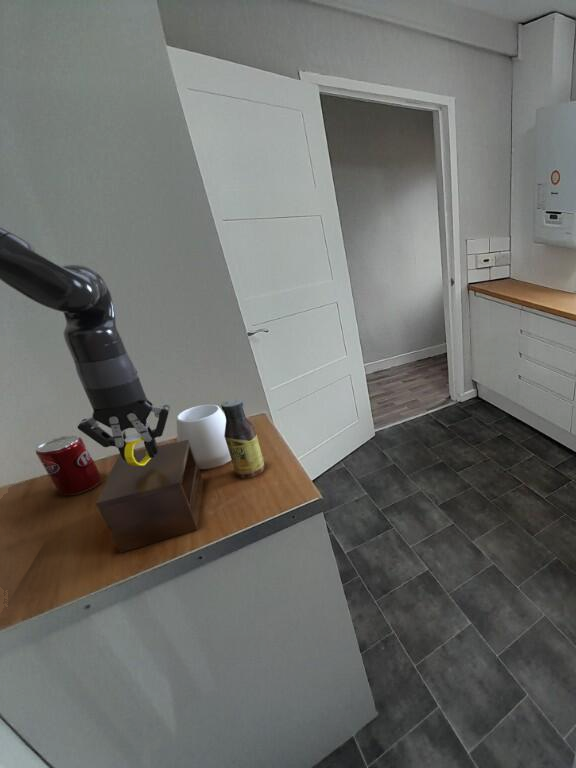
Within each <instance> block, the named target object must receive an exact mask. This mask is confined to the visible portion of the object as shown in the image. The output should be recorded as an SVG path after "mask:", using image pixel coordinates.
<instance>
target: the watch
mask: <svg viewBox="0 0 576 768" xmlns="http://www.w3.org/2000/svg"><path fill="white" fill-rule="evenodd" d="M126 437H127V438H126V439H125V443H126V446H125V450H124V453H125V459H126V461H127V462H128V463H129V464H130V465H131V466H144V465H145V464H146V463H147V462H148V461H149V460H150V459H151V458H150V457H149V455H148V452H147V451H146V455H145V457H144V458H143V459H142V460H141V461H140V462H139V463H138V462H137V461H136V460H135V458H134V456H133V451H134V448H135V445H136V444H138V443H140V442H142V441H144V439H143V438H142V436H141V435H140V433H135V434H131V435H129V436H126Z"/></svg>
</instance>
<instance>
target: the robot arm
mask: <svg viewBox="0 0 576 768" xmlns="http://www.w3.org/2000/svg"><path fill="white" fill-rule="evenodd" d="M0 281H1V282H2V283H4V284H5V285H7V286H8V287H10V288H12V289H14V290H15V291H16V292H18V293H20V294H21V295H23V296H25V297H26V298H28V299H30V300H31V301H33V302H35V303H37V304H39V305H41V306H44V307H45V308H48V309H51V310H54V311H57V312H61V313H63V316H64V319H65V323H66V324H65V326H64V327H65V328H64V329H63V338H64V342H65V344H66V347H67V349H68V351H69V353H70V355H71V357H72V360H73V363H74V366H75V371H76V374H77V376H78V379H79V381H80V384H81V385H82V388H83V390H84V392H85V395H86V397H87V399H88V401H89V403H90V406H91V408H92V411H93V412H92V415H91V416H90V417H88V418H83V419H81V421H80V422H79V424H78V425H77V429H78V430H79V431H80V432H82V433H83V434H84V435H86V436H87V437H88V438H90V439H91V440H93V441H94V442H96V443H97V444H98V445H100V446H101V447H103V448H109V447H115V448H117V449H118V452H119V454H121V456H122V459H123V460H125V461H126V459H125V453H124V450H125V446H126V443H125V439H126V438H127V437H128V436H127V432H126V430H128V429H135V430H136V432H137V434H140V435H141V436H142V438H143V439H144V440H143V444H144V448H145V449H146V450H147V452H148V455H149V457H150V458H153V457H155V455H156V454H157V452H158V446H159V445H158V443H157V440H156V438H160V437H162V436H163V434H164V431H165V427H166V423H167V421H168V417H169V413H170V410H171V407H170V405H168V404H164V405H162V406H161V405H155V404H154V405H153V403H152V402H151V401H149V399H148V398H147V395H146V393H145V391H144V388H143V385H142V382H141V380H140V377H139V375H138V370H137V368H136V366H135V364H134V361H133V360H132V358H131V357H130V355H129V353H128V351H127V347H126V345H125V342H124V341H123V338H122V335H121V333H120V331H119V329H118V326H117V320H116V319H117V318H116V312H115V308H114V302H113V297H112V294H111V290H110V288H109V285H108V284H107V282H106V281H105V278H104V277H102V275H100V273H98V272H97V271H95V270H94V269H93V268H90V267H89V266H88V267H87V266H84V265H80V264H67V265H62V266H61V265H59V264H57V263H55V262H53V261H52V260H50V259H48V258H46V257H44V256H43V255H41V254H39V253H37V252H36V250H35V247H34V246H33V245H32V244H31V243H30V242H29V241H27V240H25V238H24V239H23V238H22V237H20V236H19V235H16V234H14V233H13V232H10V231H9V230H7V229H5V228H3V227H1V226H0ZM151 413H153V414H154V417H155V418H158V419H157V423H156V427H155V428H154V429H152V427H151V426H150V422H149V421H148V420H147V419H148V418H149V416H150V414H151ZM99 423H100V424H102V425H103V426H105V427H107V428H110V429H111V433H112V435H111V434H110V433H109V432H107V431H105V430H104V429H103V428H102V427H100V426H99V425H100V424H99ZM133 456H134V458H135V454H134V452H133Z"/></svg>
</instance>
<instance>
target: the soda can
mask: <svg viewBox="0 0 576 768" xmlns="http://www.w3.org/2000/svg"><path fill="white" fill-rule="evenodd" d="M35 455H36V456H37V458H38V459H39V462H40V463H41V464H42V466H43V469H44V470H45V472H46V473H47V476H49V478H50V480H51V482H52V483H53V485H54V487H55V488H56V490H57V491H58V493H59V494H60V495H62V496H75V495H80V494H83V493H85V492H89V491H91V490H93V489H94V488H96V487H97V486H98V485H99V484H100V483H101V481H102V479H103V476H102V475H101V473H100V471H99V469H98V467H97V465H96V463H95V460H94V458H93V457H92V455H91V453H90V451H89V450H88V448H87V445H86V444H85V442H84V440H83V438H82V437H80V436H78V435H73V434H72V435H64V436H59V437H56V438H52V439H50V440H48V441H45V442H43V443H41V444H40V445H39V446H37V448H36V450H35Z"/></svg>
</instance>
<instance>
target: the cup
mask: <svg viewBox="0 0 576 768" xmlns="http://www.w3.org/2000/svg"><path fill="white" fill-rule="evenodd" d="M225 426H226V417H225V413H224V411H223V410H222V408H220V406H219V405H217V404H201V405H196V406H193V407H190V408H188V409H185V410H183V411H181V412H179V414H177V416H176V440H177V441H176V442H180V441H185V440H189V443H190V446H191V448H192V451H193V454H194V457H195V460H196V463H197V465H198V468H199V470H209V469H215V468H217V467H218V468H219V467H220V466H223V465H225V464H227V463H229V462H231V461H232V459H231V456H230V453H229V450H228V446H227V443H226V440H225V437H224V435H225Z"/></svg>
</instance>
